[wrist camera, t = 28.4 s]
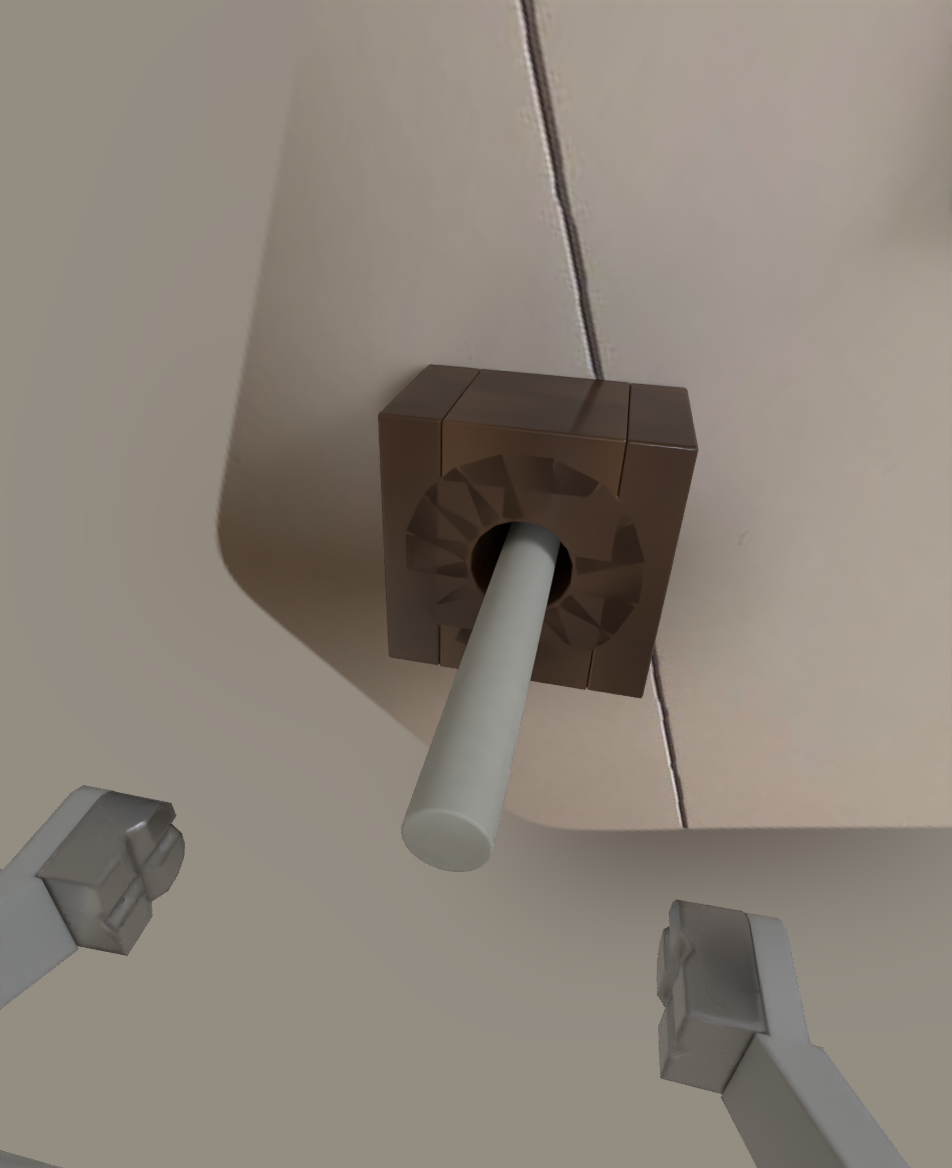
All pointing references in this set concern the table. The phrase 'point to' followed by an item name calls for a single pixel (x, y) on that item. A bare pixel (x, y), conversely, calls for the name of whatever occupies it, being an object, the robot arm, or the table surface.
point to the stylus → (483, 711)
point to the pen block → (535, 513)
